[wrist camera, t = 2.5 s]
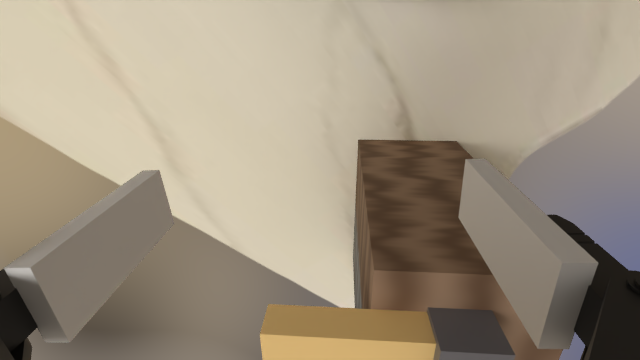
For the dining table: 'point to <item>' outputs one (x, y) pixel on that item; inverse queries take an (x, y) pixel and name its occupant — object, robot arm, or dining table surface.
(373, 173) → the stand
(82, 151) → the dining table surface
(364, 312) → the block
